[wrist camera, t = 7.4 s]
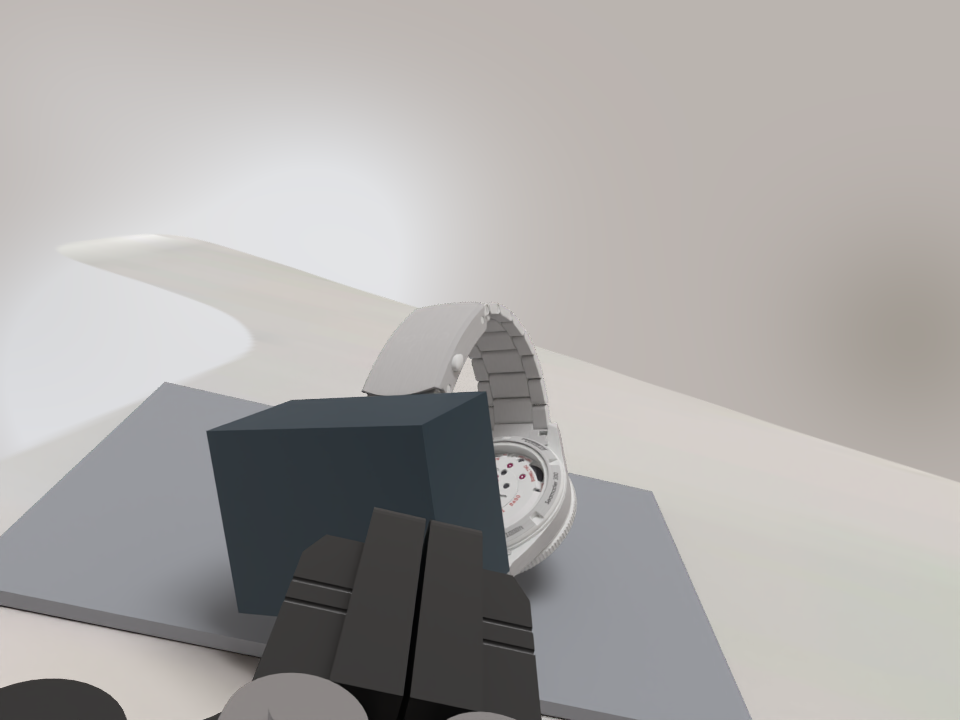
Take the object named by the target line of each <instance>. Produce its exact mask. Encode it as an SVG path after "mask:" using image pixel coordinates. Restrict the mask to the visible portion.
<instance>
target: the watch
mask: <svg viewBox="0 0 960 720" xmlns="http://www.w3.org/2000/svg"><path fill="white" fill-rule="evenodd" d="M535 351H536V349H535V347H534V344H533V342H532V340H531V338H530V336H529V334H528V332H527V331H525V328H524V326H523V325H522V323H521V322H520V320H519V319H518V318H517V317H516V316H515V315H514V314H513V313H512V311H510V310H509V309H508V308H507V307H505V306H503V305H501V304H499V303H495V302H491V303H478V302H460V303H447V304H440V305H434V306H428V307H423V308H418V309H415V310H414V311H413V312H412V313H411V314H410V315H409V316H408V317H407V318H406V319H405V320H404V321H403V322H402V323H401V324H400V325H399V326H398V328H397V329H396V330H395V331H394V333H393V334H392V335H391V337H390V338H389V340H388V341H387V343H386V344H385V346H384V348H383V349H382V351H381V353H380V354H379V356H378V358H377V360H376V361H375V362H374V364H373V367H372V370H371V372H370V374H369V376H368V378H367V380H366V382H365V385H364V387H363V389H362V392H363V393H367V394H368V396H367V397H349V398H327V399H305V400H291V401H288V402H285V403H282V404H280V405H277V406H274V407H271V408H269V409H266V410H263V411H260V412H257V413H255V414H252V415H249V416H246V417H244V418H241V419H238V420H235V421H233V422H230V423H227V424H224V425H221V426H219V427H216V428H213V429H210V430H208V431H206V433H207V439H208V444H209V450H210V455H211V461H212V467H213V472H214V478H215V484H216V489H217V495H218V500H219V506H220V512H221V517H222V523H223V529H224V534H225V540H226V545H227V551H228V557H229V562H230V568H231V573H232V579H233V585H234V590H235V596H236V602H237V607H238V613H244V614H255V615H266V616H276V617H277V616H278V614H279V611H280V609H281V606H282V603H283V601H284V600H285V596H286V593H287V591H288V588H289V586H290V583H291V581H292V579H293V575H294V573H295V570H296V568H297V565H298V563H299V560H300V557H301V555H302V552H303V551H304V550H306V549H307V548H308V547H310V546H311V545H313V544H314V543H315V542H317V541H318V540H319V539H321V538H322V537H324V536H325V535H326V534H327V535H331V536H336V537H340V538H345V539H349V540H354V541H358V542H363V543H365V540H366V537H367V533H368V529H369V525H370V521H371V517H372V513H373V510H374V507H376V508H381V509H385V510H390V511H394V512H399V513H403V514H408V515H412V516H416V517H421V518H425V519H426V524H425V532H424V537H425V534H426V530H427V527H428V524H429V521H430V519H431V520H435V521H439V522H444V523H448V524H453V525H457V526H462V527H466V528H471V529H475V530H480V531H482V535H483V569H486V570H490V571H495V572H499V573H504V574H508V575H513V577H514V576H515V575H517V574H520V573H521V572H522V573H523V572H524V571H527V570H528V569H531V568H532V567H534V566H535V565H536V564H539V563H540V562H542V561H543V560H544V559H546V557H549V556H550V554H552V553H553V551H555V550H556V548H558V547H559V545H561V542H563V541H564V538H566V535H568V532H569V531H570V529H571V526H572V525H573V522H574V519H575V515H576V511H577V510H576V509H577V506H576V505H577V500H576V499H577V497H576V492H575V489H574V486H573V484H572V481H571V479H570V478H569V476H568V471H567V466H566V461H565V456H564V450H563V445H562V440H561V435H560V430H559V428H558V425H557V423H556V422H555V423H551V422H550V413H549V406H548V404H547V403H548V396H547V391H546V386H545V381H544V378H543V371H542V368H541V364H540V361H539V358H538V356H537V353H536V352H535ZM468 356H469V358H470V359H472V366H473V370H474V374H475V378H476V380H477V381H479V382H478V392H458V393H452V392H453V390H454V387H455V384H456V382H457V379H458V377H459V374H460V372H461V370H462V368H463V365H464V363H465V361H466V359H467V357H468ZM535 404H536V405H535ZM423 541H424V539H423Z"/></svg>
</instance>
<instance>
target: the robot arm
mask: <svg viewBox="0 0 960 720" xmlns="http://www.w3.org/2000/svg"><path fill="white" fill-rule="evenodd" d="M425 524H426V519H425V518H421V517H416V516H412V515H408V514H403V513H399V512H394V511H390V510H385V509H381V508H376V507H374V510H373V513H372V517H371V521H370V525H369V529H368V533H367V537H366V540H365V543H363V542H358V541H354V540H349V539H345V538H340V537H336V536H331V535H327V534H326V535H325V536H324V537H322V538H321V539H319V540H318V541H317V542H315V543H314V544H313V545H311V546H310V547H308V548H307V549H306V550H304V551H303V552H302V555H301V557H300V560H299V563H298V565H297V568H296V570H295V573H294V575H293V579H292V581H291V583H290V586H289V588H288V591H287V593H286V596H285V600H284V601H283V603H282V606H281V609H280V611H279V614H278V616H277V619H276V621H275V624H274V626H273V629H272V632H271V634H270V637H269V639H268V642H267V644H266V647H265V649H264V652H263V655H262V657H261V660H260V662H259V665H258V667H257V670H256V672H255V675H254V678H253V680H252V682H249V683H247V684H246V685H244V686H243V687H241V688H240V689H239V690H238V691H237V692H236V693H234V694H233V695H232V696H231V698H230V699H229V701H228V702H227V704H226V705H225V707H224V709H223V711H222V712H220V713H218V714H216V715H214V716H212V717H210V718H207V719H204V720H542V719H541V709H540V698H539V688H538V678H537V667H536V657H535V655H534V651H535V647H534V636H533V633H532V628H533V626H532V616H531V605H530V600H529V599H528V597H527V596H526V594H525V593H524V591H523V590H522V588H521V587H520V585H519V584H518V582H517V581H516V579H515V578H514V577H513V575H508V574H504V573H499V572H495V571H490V570H486V569H483V535H482V531H480V530H475V529H471V528H466V527H462V526H457V525H453V524H448V523H444V522H439V521H435V520H431V519H430V521H429V524H428V527H427V530H426V534H425V537H424V532H425ZM423 539H424V541H423ZM0 720H127V719H126V716H125V714H124V711H123V709H122V708H121V706H120V705H119V704H118V702H117V701H116V700H115V699H114V698H112V697H111V696H110V695H109V694H108V693H106V692H104V691H103V690H101V689H99V688H97V687H94V686H92V685H89V684H87V683H83V682H79V681H75V680H67V679H38V680H30V681H25V682H20V683H16V684H13V685H9V686H6V687H3V688H0Z"/></svg>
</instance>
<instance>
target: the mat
mask: <svg viewBox="0 0 960 720" xmlns="http://www.w3.org/2000/svg"><path fill="white" fill-rule="evenodd" d="M271 407H274V406H270V405H265V404H261V403H257V402H252V401H248V400H243V399H239V398H234V397H230V396H225V395H221V394H217V393H212V392H208V391H203V390H199V389H194V388H190V387H185V386H181V385H177V384H172V383H167V382H164V383H163V384H162V385H161V386H160V387H159V388H158V389H157V390H156V391H155V392H154V393H153V394H151V395H150V396H149V397H148V398H147V399H146V400H145V401H144V402H143V403H142V404H141V405H140V406H139V407H138V408H137V409H135V410H134V411H133V412H132V413H131V414H130V415H129V416H128V417H127V418H126V419H125V420H124V421H123V422H122V423H121V424H120V425H118V426H117V427H116V428H115V429H114V430H113V431H112V432H111V433H110V434H109V435H108V436H107V437H106V438H105V439H104V440H103V441H101V442H100V443H99V444H98V445H97V446H96V447H95V448H94V449H93V450H92V451H91V452H90V453H89V454H88V455H87V456H85V457H84V458H83V459H82V460H81V461H80V462H79V463H78V464H77V465H76V466H75V467H74V468H73V469H72V470H71V471H70V472H68V473H67V474H66V475H65V476H64V477H63V478H62V479H61V480H60V481H59V482H58V483H57V484H56V485H55V486H54V487H53V488H51V489H50V490H49V491H48V492H47V493H46V494H45V495H44V496H43V497H42V498H41V499H40V500H39V501H38V502H37V503H35V504H34V505H33V506H32V507H31V508H30V509H29V510H28V511H27V512H26V513H25V514H24V515H23V516H22V517H21V518H20V519H18V520H17V521H16V522H15V523H14V524H13V525H12V526H11V527H10V528H9V529H8V530H7V531H6V532H5V533H4V534H2V535H1V536H0V605H3V606H8V607H13V608H18V609H23V610H28V611H33V612H38V613H43V614H48V615H53V616H58V617H63V618H68V619H73V620H78V621H83V622H87V623H92V624H97V625H102V626H107V627H112V628H117V629H122V630H127V631H132V632H137V633H142V634H147V635H152V636H157V637H162V638H167V639H172V640H177V641H182V642H187V643H192V644H197V645H202V646H207V647H212V648H217V649H222V650H227V651H232V652H237V653H242V654H247V655H252V656H256V657H262V655H263V652H264V649H265V647H266V644H267V642H268V639H269V637H270V634H271V632H272V629H273V626H274V624H275V621H276V619H277V617H276V616H266V615H255V614H244V613H238V607H237V602H236V596H235V590H234V585H233V579H232V573H231V568H230V562H229V557H228V551H227V545H226V540H225V534H224V529H223V523H222V517H221V512H220V506H219V500H218V495H217V489H216V484H215V478H214V472H213V467H212V461H211V455H210V450H209V444H208V439H207V433H206V431H208V430H210V429H213V428H216V427H219V426H221V425H224V424H227V423H230V422H233V421H235V420H238V419H241V418H244V417H246V416H249V415H252V414H255V413H257V412H260V411H263V410H266V409H269V408H271ZM568 476H569V478H570V479H571V481H572V484H573V486H574V489H575V492H576V497H577V499H576V500H577V505H576V506H577V509H576V510H577V511H576V515H575V519H574V522H573V525H572V526H571V529H570V531H569V532H568V535H566V538H564V541H563V542H561V545H559V547H558V548H556V550H555V551H553V553H552V554H550V556H549V557H546V559H544V560H543V561H542V562H540V563H539V564H536V565H535V566H534V567H532V568H531V569H528V570H527V571H524V572H523V573H522V572H521V573H520V574H517V575H515V576H514V578H515V579H516V581H517V582H518V584H519V585H520V587H521V588H522V590H523V591H524V593H525V594H526V596H527V597H528V599H529V600H530V605H531V616H532V626H533V628H532V633H533V636H534V647H535V651H534V655H535V657H536V667H537V678H538V688H539V698H540V709H541V714H545V715H550V716H555V717H560V718H565V719H570V720H752V718H751V716H750V714H749V712H748V709H747V707H746V705H745V702H744V700H743V698H742V696H741V693H740V691H739V689H738V686H737V684H736V682H735V680H734V677H733V675H732V673H731V670H730V668H729V666H728V664H727V661H726V659H725V657H724V655H723V652H722V650H721V648H720V645H719V643H718V641H717V639H716V636H715V634H714V632H713V629H712V627H711V625H710V623H709V620H708V618H707V616H706V613H705V611H704V609H703V607H702V604H701V602H700V600H699V597H698V595H697V593H696V591H695V588H694V586H693V584H692V582H691V579H690V577H689V575H688V572H687V570H686V568H685V566H684V563H683V561H682V559H681V556H680V554H679V552H678V550H677V547H676V545H675V543H674V540H673V538H672V536H671V534H670V531H669V529H668V527H667V524H666V522H665V520H664V518H663V515H662V513H661V511H660V509H659V506H658V504H657V502H656V499H655V497H654V495H653V493H652V491H648V490H643V489H639V488H634V487H630V486H625V485H621V484H617V483H612V482H608V481H603V480H599V479H594V478H590V477H585V476H581V475H577V474H572V473H568Z"/></svg>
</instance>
